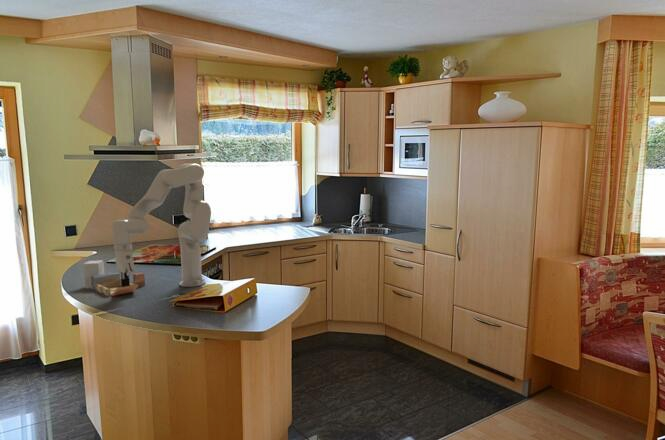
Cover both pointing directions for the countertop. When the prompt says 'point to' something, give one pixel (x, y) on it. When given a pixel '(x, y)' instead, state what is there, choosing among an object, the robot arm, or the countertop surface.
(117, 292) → the panel
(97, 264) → the supplement box
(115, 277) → the truck bed
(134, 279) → the block
